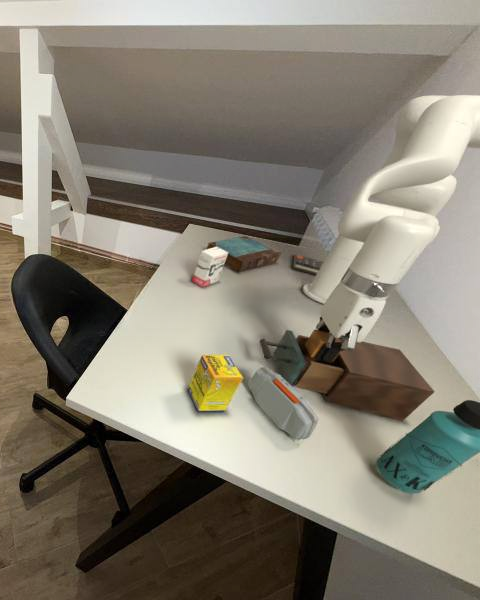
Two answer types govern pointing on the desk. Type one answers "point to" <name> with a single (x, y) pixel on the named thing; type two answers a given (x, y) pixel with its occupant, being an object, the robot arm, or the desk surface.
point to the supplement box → (214, 383)
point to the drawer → (303, 364)
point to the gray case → (283, 404)
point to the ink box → (209, 266)
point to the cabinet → (379, 382)
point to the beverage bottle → (433, 448)
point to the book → (246, 253)
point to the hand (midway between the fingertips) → (319, 351)
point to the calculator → (306, 264)
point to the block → (317, 342)
